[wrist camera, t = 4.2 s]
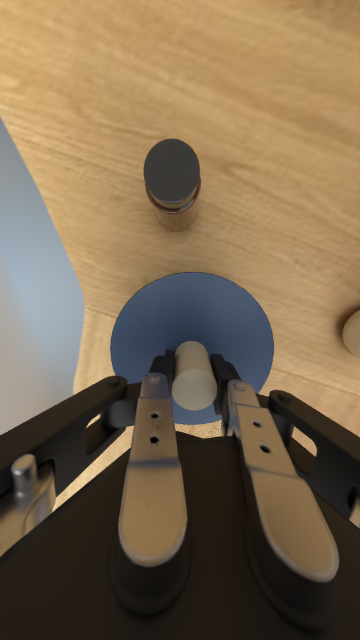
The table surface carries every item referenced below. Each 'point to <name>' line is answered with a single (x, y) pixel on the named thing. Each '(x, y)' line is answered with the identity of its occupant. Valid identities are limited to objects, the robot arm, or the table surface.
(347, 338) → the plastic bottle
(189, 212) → the spice bottle
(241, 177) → the table surface
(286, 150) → the table surface
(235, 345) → the lid
